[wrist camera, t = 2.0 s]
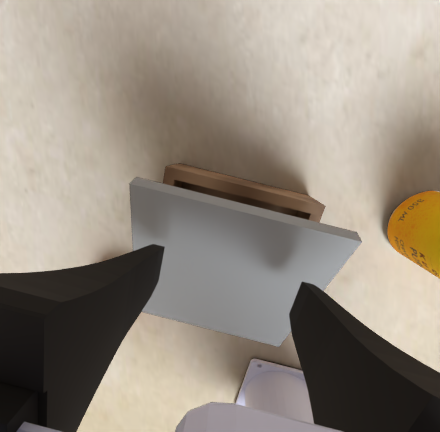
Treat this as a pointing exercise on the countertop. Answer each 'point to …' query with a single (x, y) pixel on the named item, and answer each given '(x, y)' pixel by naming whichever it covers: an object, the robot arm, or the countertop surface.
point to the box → (243, 191)
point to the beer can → (418, 230)
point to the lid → (232, 259)
